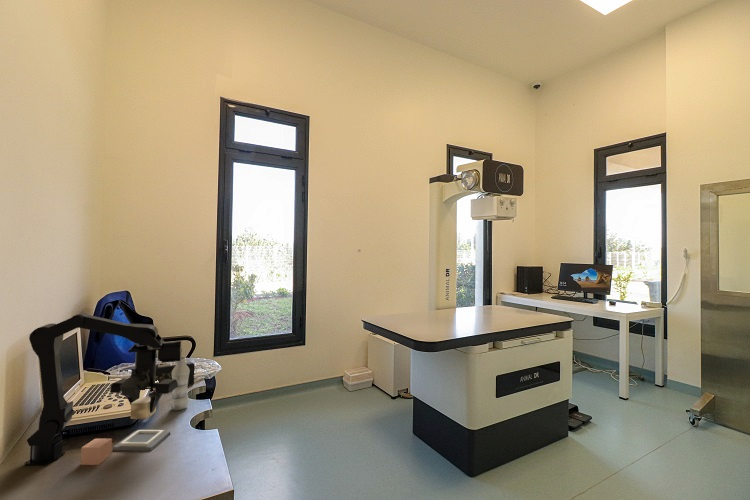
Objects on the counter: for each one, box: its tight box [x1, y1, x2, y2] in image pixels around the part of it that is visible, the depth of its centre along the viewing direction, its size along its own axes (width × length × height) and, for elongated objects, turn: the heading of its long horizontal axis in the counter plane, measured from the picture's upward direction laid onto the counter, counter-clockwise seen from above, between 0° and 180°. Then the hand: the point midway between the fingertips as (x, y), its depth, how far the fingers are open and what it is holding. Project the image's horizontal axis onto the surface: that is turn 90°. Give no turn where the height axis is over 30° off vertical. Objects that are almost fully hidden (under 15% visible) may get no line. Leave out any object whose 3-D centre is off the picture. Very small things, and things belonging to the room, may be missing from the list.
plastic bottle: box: [169, 356, 190, 411], centre depth 137 cm, size 6×7×20 cm
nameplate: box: [155, 362, 196, 386], centre depth 159 cm, size 21×2×10 cm, turn 121°
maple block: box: [130, 396, 157, 420], centre depth 112 cm, size 5×5×5 cm
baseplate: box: [112, 429, 171, 452], centre depth 111 cm, size 12×10×2 cm
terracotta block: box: [80, 438, 113, 466], centre depth 101 cm, size 5×5×5 cm
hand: (143, 412), depth 112 cm, fingers closed on maple block, 5 cm apart
